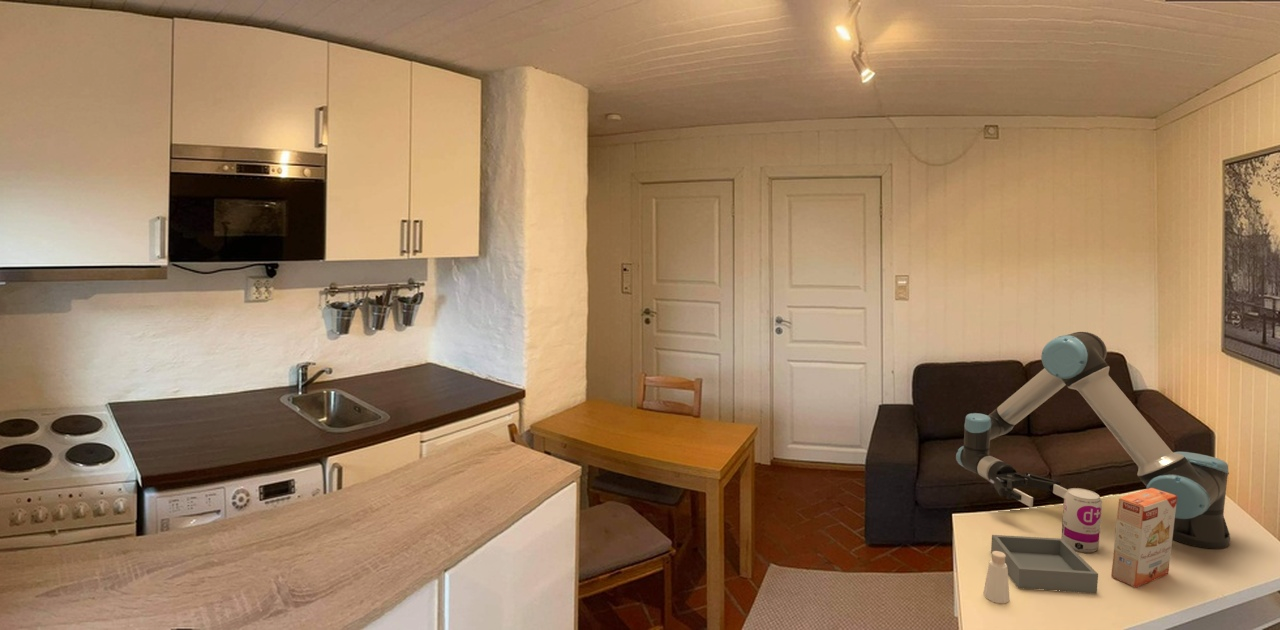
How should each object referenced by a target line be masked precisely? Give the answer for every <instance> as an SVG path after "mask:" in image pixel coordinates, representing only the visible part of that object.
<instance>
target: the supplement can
mask: <svg viewBox="0 0 1280 630" xmlns="http://www.w3.org/2000/svg"><path fill="white" fill-rule="evenodd" d="M1067 490H1068V491H1067V493H1066V494H1065V496H1064V498H1063V510H1062V512H1063V513H1062V523H1061V524H1062V527H1061V537H1060V539H1063V540H1064V541H1065V542H1066V543H1067V544H1068V545H1069V546H1070V547H1071V548H1072V549H1073V550H1074V551H1075V552H1079V553H1089V554H1090V553H1094V552H1096V551H1098V550H1099V547H1100V544H1099V543H1100V534H1101V521H1102V520H1101V519H1102V507H1103V501H1102V499H1101V497H1100V495H1099V494H1098V493H1096V492H1095V491H1092V490H1091V489H1090V490H1089V489H1085V488H1079V487H1077V488H1076V487H1073V488H1068V489H1067Z"/></svg>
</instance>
